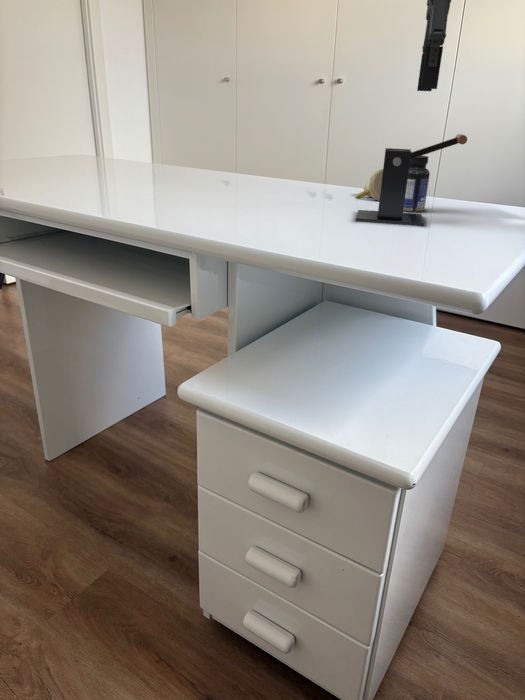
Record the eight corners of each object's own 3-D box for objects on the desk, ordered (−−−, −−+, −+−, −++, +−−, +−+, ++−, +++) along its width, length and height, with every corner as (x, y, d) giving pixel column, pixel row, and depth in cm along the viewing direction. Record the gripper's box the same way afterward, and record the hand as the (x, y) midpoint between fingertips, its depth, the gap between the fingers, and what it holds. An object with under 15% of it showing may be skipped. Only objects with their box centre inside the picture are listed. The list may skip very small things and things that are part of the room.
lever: (464, 143, 94) (462, 129, 93) (468, 145, 90) (465, 131, 89) (390, 168, 98) (387, 155, 98) (390, 171, 94) (387, 157, 93)
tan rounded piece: (378, 196, 131) (399, 161, 123) (386, 221, 125) (409, 185, 117) (351, 188, 129) (371, 151, 121) (357, 213, 122) (379, 176, 115)
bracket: (420, 220, 103) (431, 149, 98) (423, 229, 95) (435, 153, 90) (357, 215, 105) (365, 146, 100) (355, 224, 97) (362, 149, 92)
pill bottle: (416, 210, 113) (424, 154, 109) (428, 215, 108) (438, 157, 103) (388, 209, 112) (395, 154, 108) (399, 215, 107) (407, 157, 102)
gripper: (419, -31, 103) (404, 91, 112) (428, -69, 81) (407, 87, 90) (460, -32, 102) (441, 92, 111) (480, -70, 80) (454, 88, 89)
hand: (426, 90), depth 100 cm, fingers open, 13 cm apart
